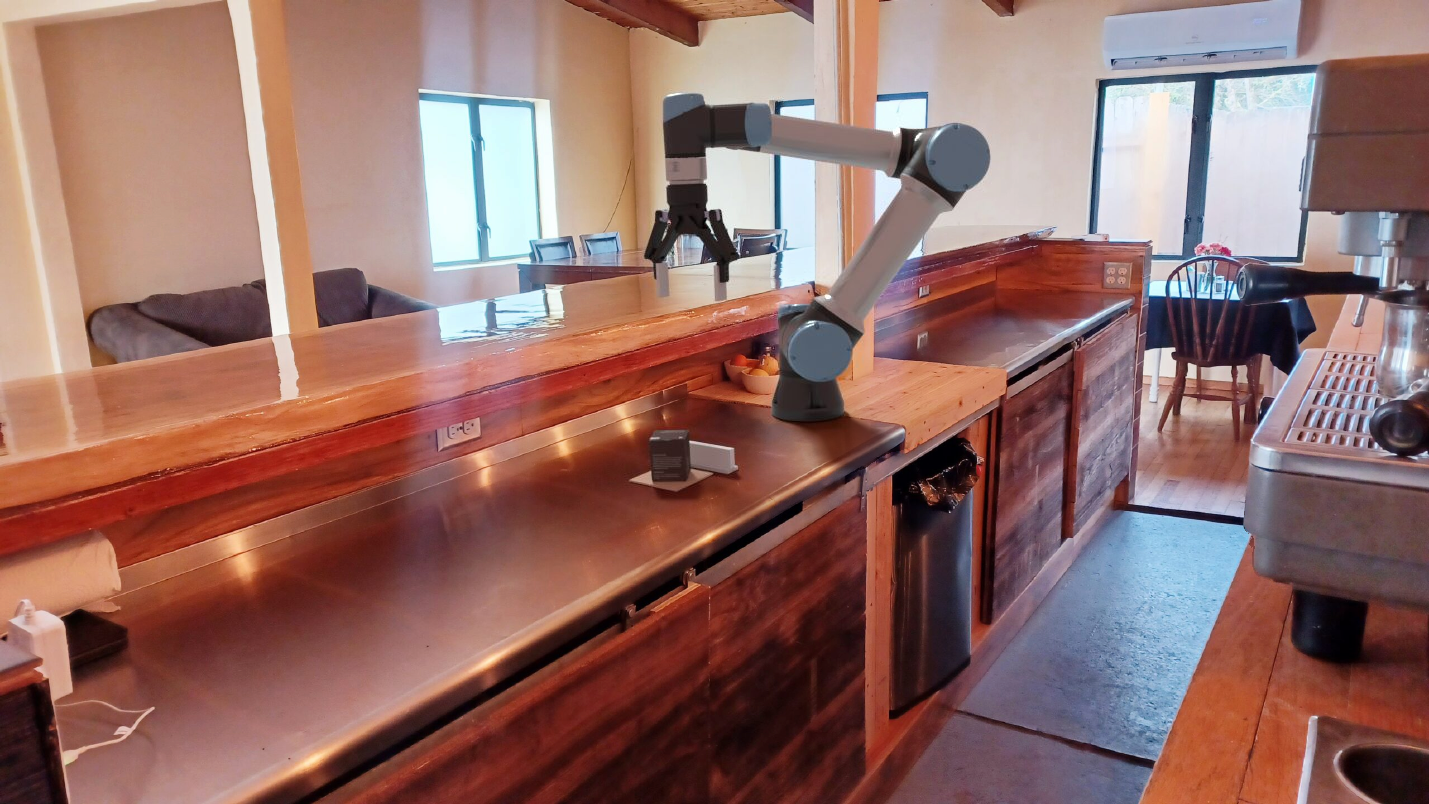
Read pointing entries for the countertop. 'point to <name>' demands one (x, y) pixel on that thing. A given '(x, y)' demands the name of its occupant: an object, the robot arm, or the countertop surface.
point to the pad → (672, 485)
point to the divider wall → (712, 457)
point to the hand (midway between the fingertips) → (691, 298)
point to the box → (670, 455)
